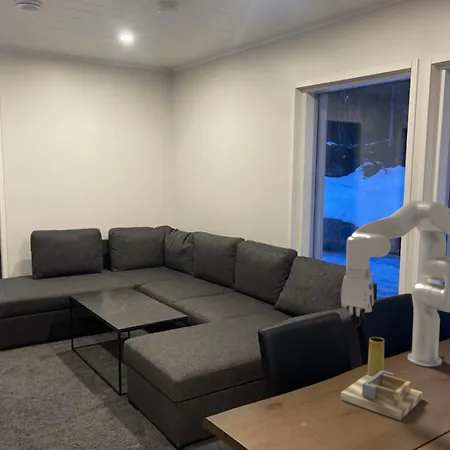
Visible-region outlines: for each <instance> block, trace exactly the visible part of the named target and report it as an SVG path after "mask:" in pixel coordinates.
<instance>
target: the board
mask: <svg viewBox="0 0 450 450" xmlns="http://www.w3.org/2000/svg"><path fill="white" fill-rule="evenodd" d="M370 378H371V376H368V375H367V374H365V375H364V376H362V377H360V378H359V379H358V380H356V381H354V382H353V383H352V384H350V385H349V386H348V387H346V388H345V389H344V390H342V391H340V400H342V401H343V402H347V403H350V404H353V405H355V406H358V407H361V408H364V409H367V410H369V411H372V412H375V413H379V414H381V415H383V416H387V417H389V418H393V419H394V420H395V419H396V420H398V421H402V419H404V417H405V416H406V415H408V414H409V412H411V411H412V409H414V407H415V408H416V406H417V405H418V404H419V403H420V402H421V401H422V400H423V391H420V390H417V389H414V388H412V381H410V380H406V379H404V378H403V379H402V378H401V377H396V376H394V375H393V376H390V375H386V374H382V384H381V385H380V386H378V385H375V384H372V383H370V385H373V386H376V399H375V400H373V399H370V398H367V397H364V396H362V384H363V383H365V382H366V381H367V380H369V379H370Z"/></svg>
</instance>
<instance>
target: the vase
mask: <svg viewBox="0 0 450 450" xmlns="http://www.w3.org/2000/svg"><path fill="white" fill-rule="evenodd" d="M368 340H369V341H368V357H367V358H368V359H367V371H366V372H367V373H366V375H368V376H371V377H373V376H374V375H375V374H377V373H378V372H380V371H381V370H383V371H385V339H384V338H382V337H378V336H371V337H370V338H369V339H368Z"/></svg>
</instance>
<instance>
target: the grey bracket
mask: <svg viewBox="0 0 450 450" xmlns="http://www.w3.org/2000/svg"><path fill="white" fill-rule="evenodd" d="M382 374H386V375H390V376H393V377H394V373H393V372H390V371H386V370H384V371H383V370H381V371H380V372H378V373H377V374H375V375H374V376H373V377H371V378H370V379H369V380H367V381H366V382H365V383H363V384H362V396H364V397H367V398H370V399H373V400H375V399H376V386H373V385H370V383H372V384H375V385H378V386H380V385H381V384H382Z"/></svg>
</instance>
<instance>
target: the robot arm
mask: <svg viewBox="0 0 450 450" xmlns="http://www.w3.org/2000/svg"><path fill="white" fill-rule="evenodd" d="M414 228H416V229H417V231H418V232H419V234H420V236H421V239H422V247H421V248H422V249H421V255H420V263H419V274H420V275H421V276H422V277H424V278H425V279H429V280H434V281H437V282H438V281H439V282H443V283H444V284H439V283H436V282H435V283H434V282H430V281H419V282H417V283H415V284H414V285H413V287H412V289H411V297H412V299H411V300H412V305H413V324H412V346H411V351H412V352H410V353H408V354H407V360H408V361H409V362H411V364H415V365H418V366H420V367H421V366H422V367H430V368H433V367H439V366H441V365H442V363H443V360H442V358H441V357H440V356H439V341H440V340H439V339H440V323H441V319H440V314H439V313H438V311H441V312H442V311H443V312H447V313H450V257H448V256H447V255H446V253H447V240H446V238H445V236H444V235H450V207H448V206H445V205H443V204H442V203H440V202H436V201H427V200H411V201H409V202H407V203H405V204H404V205H403V206H401V207H400V208H399V209H397V210H396V211H395V212H393V213H392V214H391V215H389V216H386V217H383V218H380V219H377V220H373V221H371V222H368V223H365V224H363V225H362V226H360V227H359V228H358V229H356V230H355V231H354V232H353V233H352V234H351V235H350V236H348V237H347V240H346V249H345V250H346V251H345V252H346V253H345V255H346V257H345V258H346V259H345V275H344V277H343V279H342V284H341V291H340V301H341V307H343V308H345V309H346V310H347V311H348V312H349V315H350V324H351V327H353V328H359V327H360V326H361V325H362V315H363V314H364V313H370V312H371V313H372V311H373V308H372V307H373V306H374V302H375V301H374V297H375V295H374V285H373V279H372V277H373V275H374V273H373V271H370V258H382V257H383V258H384V257H385V256H387V255H388V254H389V253H390V251H391V248H392V244H391V241H390V239H396V238H401V237H404V236H406V235H407V234H408V233H410V232H411V231H412V230H413V229H414Z"/></svg>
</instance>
